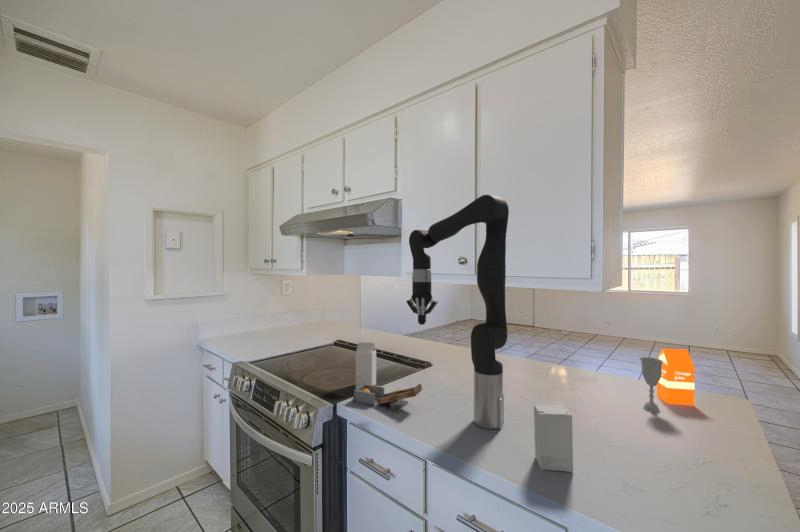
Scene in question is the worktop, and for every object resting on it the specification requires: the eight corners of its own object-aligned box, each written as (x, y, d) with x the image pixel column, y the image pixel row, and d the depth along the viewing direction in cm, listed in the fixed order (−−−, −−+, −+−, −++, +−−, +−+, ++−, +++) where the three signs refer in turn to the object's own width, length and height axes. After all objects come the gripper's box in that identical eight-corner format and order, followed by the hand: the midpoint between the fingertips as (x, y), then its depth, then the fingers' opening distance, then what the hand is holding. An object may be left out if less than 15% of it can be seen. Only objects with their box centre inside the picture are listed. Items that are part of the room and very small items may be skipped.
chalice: (642, 403, 125) (642, 356, 125) (664, 409, 121) (665, 359, 121) (637, 409, 120) (638, 360, 120) (661, 415, 116) (661, 364, 115)
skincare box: (566, 460, 89) (566, 404, 89) (574, 474, 83) (574, 414, 83) (533, 457, 91) (533, 402, 90) (538, 470, 85) (538, 412, 85)
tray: (384, 398, 130) (384, 387, 130) (373, 406, 123) (373, 394, 123) (364, 394, 134) (364, 383, 134) (353, 401, 127) (353, 390, 127)
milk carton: (371, 390, 139) (371, 344, 139) (355, 388, 140) (355, 343, 140) (376, 384, 146) (376, 341, 146) (360, 382, 147) (360, 340, 147)
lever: (428, 385, 127) (426, 379, 127) (416, 396, 116) (414, 389, 117) (391, 393, 134) (390, 387, 134) (377, 404, 123) (375, 397, 124)
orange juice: (694, 405, 124) (694, 352, 124) (667, 403, 126) (667, 351, 126) (681, 397, 132) (681, 347, 131) (656, 395, 133) (656, 346, 133)
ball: (372, 396, 130) (371, 387, 130) (367, 400, 127) (366, 390, 127) (364, 396, 131) (364, 387, 131) (359, 399, 128) (359, 390, 128)
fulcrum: (408, 402, 126) (408, 395, 126) (397, 412, 118) (397, 404, 118) (396, 400, 128) (396, 393, 128) (385, 409, 120) (385, 401, 120)
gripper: (440, 280, 132) (440, 324, 132) (410, 280, 138) (410, 321, 138) (434, 281, 125) (434, 327, 125) (402, 280, 131) (402, 324, 131)
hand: (421, 324), depth 131 cm, fingers closed
